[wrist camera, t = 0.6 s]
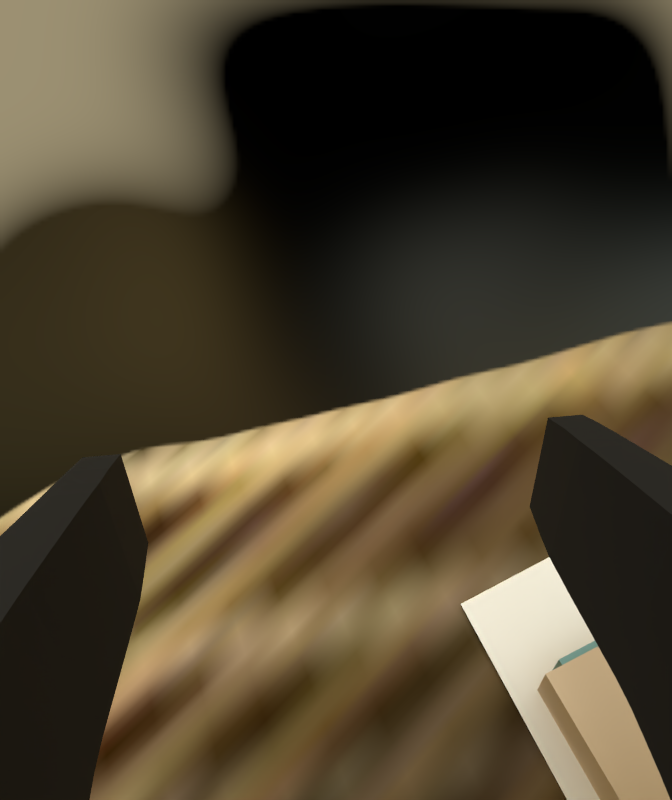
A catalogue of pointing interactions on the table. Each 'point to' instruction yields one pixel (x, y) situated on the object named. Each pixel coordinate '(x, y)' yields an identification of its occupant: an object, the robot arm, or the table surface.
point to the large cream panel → (534, 656)
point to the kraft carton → (601, 727)
